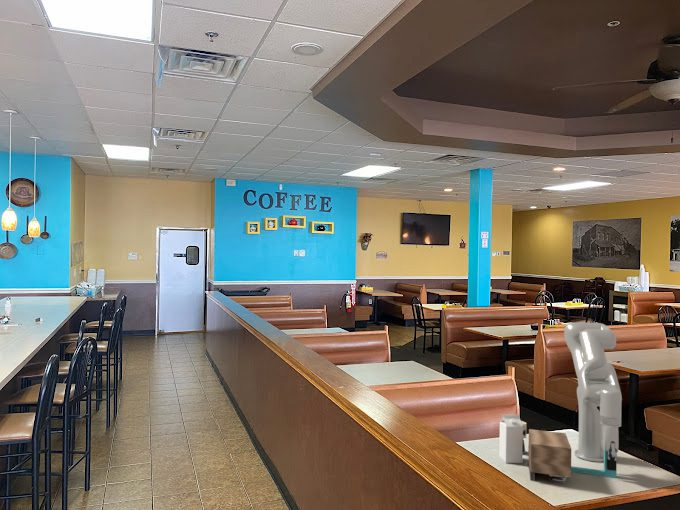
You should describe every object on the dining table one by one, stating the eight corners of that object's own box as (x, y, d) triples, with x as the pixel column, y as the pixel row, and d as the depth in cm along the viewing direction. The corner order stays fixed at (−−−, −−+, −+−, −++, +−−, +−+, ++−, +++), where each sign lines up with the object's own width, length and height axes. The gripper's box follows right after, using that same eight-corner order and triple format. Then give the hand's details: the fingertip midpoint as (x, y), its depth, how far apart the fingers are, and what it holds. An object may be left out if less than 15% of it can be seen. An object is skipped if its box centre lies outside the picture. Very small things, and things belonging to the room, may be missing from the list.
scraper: (612, 470, 209) (612, 445, 209) (619, 483, 195) (619, 456, 196) (562, 463, 214) (562, 439, 215) (565, 476, 201) (566, 450, 201)
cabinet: (565, 468, 209) (565, 433, 210) (570, 487, 190) (571, 448, 191) (528, 463, 214) (528, 429, 214) (530, 481, 195) (531, 443, 195)
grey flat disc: (563, 477, 200) (563, 474, 200) (568, 483, 194) (568, 480, 194) (547, 476, 201) (547, 473, 201) (551, 482, 195) (551, 478, 195)
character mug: (525, 457, 221) (525, 426, 221) (507, 454, 224) (508, 424, 224) (526, 449, 231) (527, 420, 232) (510, 447, 234) (510, 418, 234)
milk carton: (499, 457, 220) (499, 412, 221) (515, 457, 221) (515, 412, 221) (505, 463, 213) (506, 416, 214) (522, 463, 214) (523, 416, 214)
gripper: (596, 414, 213) (595, 458, 212) (603, 425, 196) (603, 473, 196) (616, 416, 210) (616, 461, 210) (625, 427, 194) (625, 476, 193)
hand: (610, 466), depth 203 cm, fingers open, 5 cm apart
